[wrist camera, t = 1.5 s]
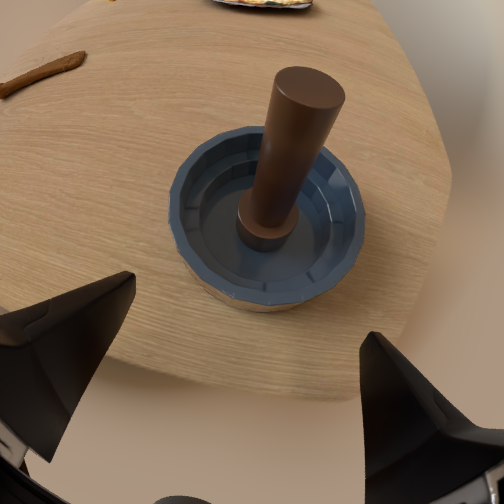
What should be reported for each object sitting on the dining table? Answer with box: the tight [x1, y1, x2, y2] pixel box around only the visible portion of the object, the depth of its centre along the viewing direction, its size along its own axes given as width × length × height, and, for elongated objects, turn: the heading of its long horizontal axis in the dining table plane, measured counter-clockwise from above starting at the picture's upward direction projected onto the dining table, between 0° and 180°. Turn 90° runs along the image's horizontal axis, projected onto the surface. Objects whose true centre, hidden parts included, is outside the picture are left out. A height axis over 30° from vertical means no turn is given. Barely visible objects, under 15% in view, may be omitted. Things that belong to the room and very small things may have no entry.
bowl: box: [168, 126, 365, 313], centre depth 20 cm, size 14×14×5 cm
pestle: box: [236, 66, 345, 252], centre depth 15 cm, size 4×4×14 cm
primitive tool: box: [0, 51, 85, 99], centre depth 26 cm, size 19×6×4 cm, turn 105°
